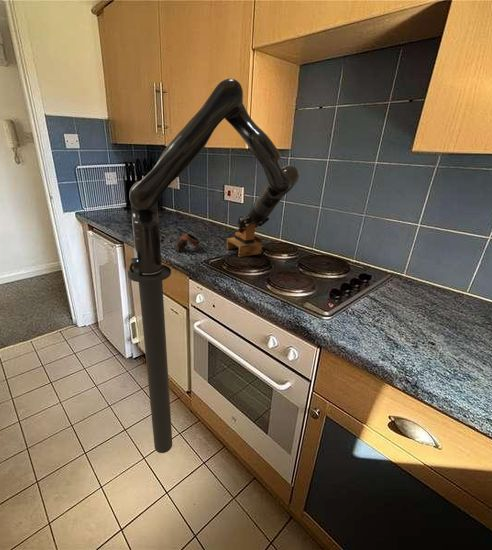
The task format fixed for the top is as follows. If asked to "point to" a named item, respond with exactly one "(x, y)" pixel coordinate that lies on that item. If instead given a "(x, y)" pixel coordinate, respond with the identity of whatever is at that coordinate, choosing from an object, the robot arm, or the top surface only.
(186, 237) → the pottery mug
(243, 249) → the tan wooden block
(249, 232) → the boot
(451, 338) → the top surface
